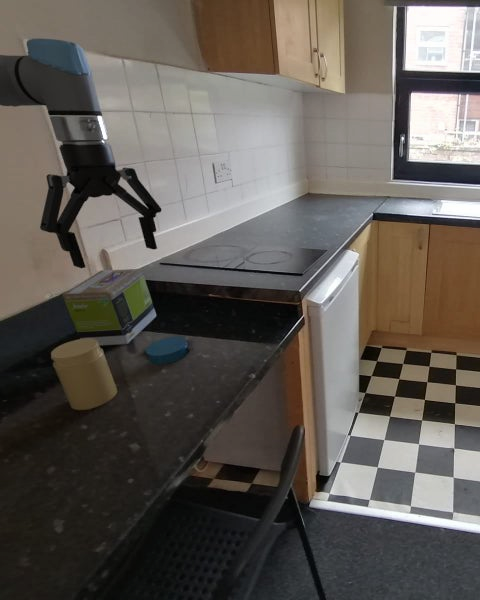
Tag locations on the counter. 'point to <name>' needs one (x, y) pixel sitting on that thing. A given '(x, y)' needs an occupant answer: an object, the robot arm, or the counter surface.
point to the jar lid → (167, 350)
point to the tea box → (111, 306)
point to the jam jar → (84, 373)
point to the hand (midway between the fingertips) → (118, 257)
